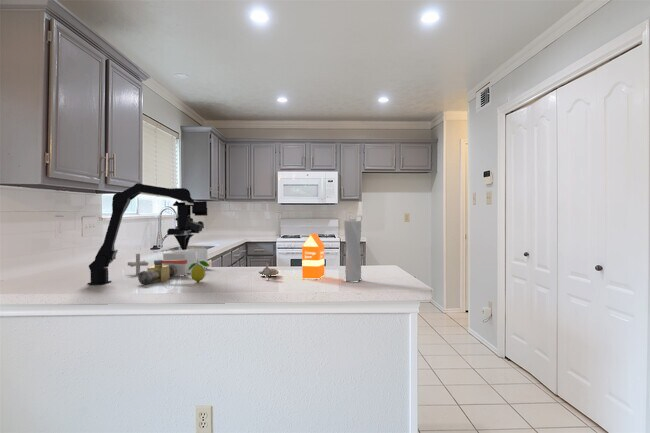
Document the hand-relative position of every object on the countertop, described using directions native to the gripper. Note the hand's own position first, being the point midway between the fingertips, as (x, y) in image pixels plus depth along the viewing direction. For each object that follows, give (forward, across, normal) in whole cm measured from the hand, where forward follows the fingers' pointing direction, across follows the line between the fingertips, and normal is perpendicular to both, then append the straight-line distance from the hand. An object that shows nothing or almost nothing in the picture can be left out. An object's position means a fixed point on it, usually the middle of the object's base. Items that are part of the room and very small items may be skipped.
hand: (184, 249), depth 163 cm
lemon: (+13, -10, -11) cm, 20 cm away
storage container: (+14, +18, +9) cm, 24 cm away
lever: (+6, -7, +3) cm, 9 cm away
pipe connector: (+13, +12, +31) cm, 35 cm away
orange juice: (+13, +3, -59) cm, 61 cm away
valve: (+14, +3, -39) cm, 41 cm away
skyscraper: (+13, -3, -77) cm, 79 cm away
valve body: (+13, -6, +9) cm, 17 cm away
